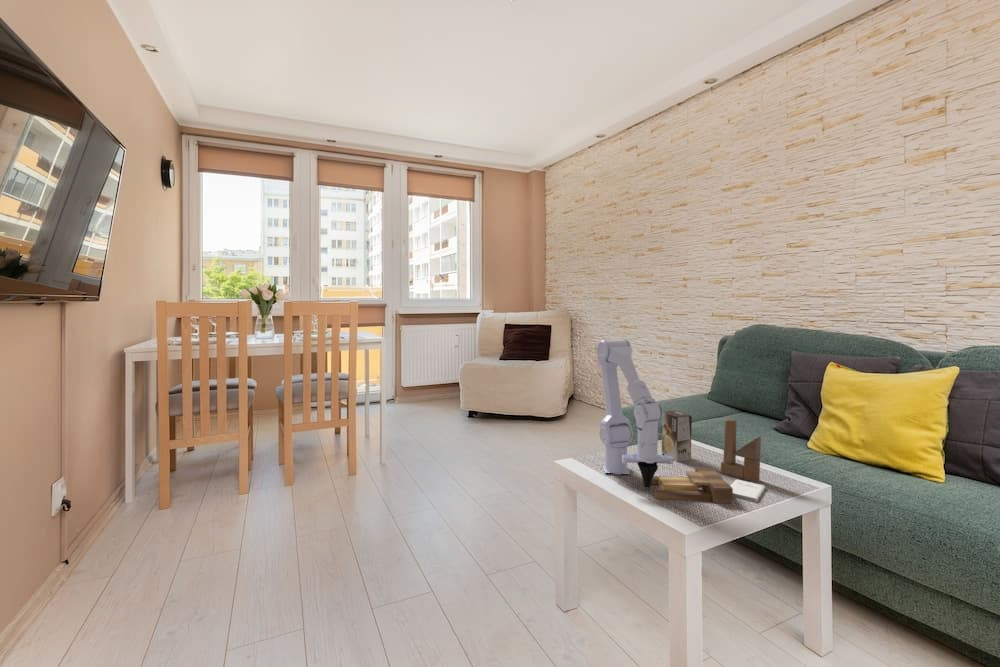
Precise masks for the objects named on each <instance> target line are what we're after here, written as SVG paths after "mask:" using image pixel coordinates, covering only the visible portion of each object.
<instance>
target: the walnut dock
mask: <svg viewBox="0 0 1000 667" xmlns="http://www.w3.org/2000/svg"><path fill="white" fill-rule="evenodd" d="M685 475H686V476H687V477H686V476H678V477H679V478H690V480H691V481H692V482H693V483H694V484H695V485H699V487H700V488H701V490H702V491H670V490H661V489H654V490H653V497H654V498H655V499H657V500H677V501H678V500H679V501H680V500H681V501H708V502H712V503H714V504H733V496H732V493H733V488H732V487H731V484H728V482H727V481H726V480H725V479H724V478H723V477H722V476H721V475H720V474H719V473H718V472H717V471H716V470H714V468H712V467H695V470H694V471H685ZM658 477H665V476H662V475H661V476H660V475H659V476H658V475H657V476H656V475H654V476H653V478H652V481H651V484H650V485H658Z"/></svg>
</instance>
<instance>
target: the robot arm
mask: <svg viewBox="0 0 1000 667" xmlns="http://www.w3.org/2000/svg"><path fill="white" fill-rule="evenodd" d="M632 354H633V348H632V345H631V342H630V341H629V340H628V338H627V339H626V338H622V339H601V340H599V342H598V344H597V345H596V357H597V363H598V365H599V366H600V373H601V381H602V388H603V389H602V390H603V397H604V398H603V399H604V406H605V413H606V416H605V417H603V419H602V420H601V421H600V422H599V439H600V441H601V442H602V444H603V445H604V463H605V467H604V466H602V468H604V469H603V471H605V472H604V474H605V473H613V474H612V475H621V474H631V473H630V470H629V469H628V463H629V464H631V463H633V464H637V465H638V468H639V470H640V473H641V478H642V482H643V487H644V488H646V489H647V488H649V489H650V487H651V485H652V484H651V481H652V478H653V476H655V474H656V472H657V471H658V469H659V465H658V464H668V465H673V464H674V460H673V458H672V457H671V456H665V455H663V454H662V455H661V454H658V447H659V446H658V442H659V441H658V440H659V437H658V436H659V435H658V434H659V431H658V429H659V421H660V420H661V421H662V415H663V412H664V411H663V408H662V406H661V403H659V402H658V401H657V400H656V399H655V398H653V397H652V395H651V393H650V391H649V388H648V386H647V384H646V382H645V380H642V379H640V378H639V375H638V372H637V369H636V366H635V364H634V362H633V358H632ZM618 367H619V369H620V371H621V372H622V374H623V375H624V378H625V379H626V381H627V383H628V384H627V387H626V389H627V392H628V394H629V396H630V398H631V401H632V403H633V405H634V410H633V416H634V418H635V425H636V427H637V450H636V451H637V453H633V454H628V446H630V443H631V442H632V440H633V438H634V432H633V428H632V426H631V422H630V419H629V418H627V417H626V416H625V415H624V414H623V409H622V401H621V400H622V399H621V393H620V392H621V391H620V386H619V377H618V369H617V368H618ZM614 473H615V474H614Z"/></svg>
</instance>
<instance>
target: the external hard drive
mask: <svg viewBox="0 0 1000 667" xmlns="http://www.w3.org/2000/svg"><path fill="white" fill-rule="evenodd" d="M730 486H731V487H732V488H733V493H732V498H733V497H734V498H737V499H738V498H739V499H741V500H742V499H743V500H746V501H749V500H750V501H749V502H754V503H757V502H758V501H759V499H760V498H761V496H762V495H763V493H764V491H765V490H766V485H764V484H759V483H757V482H751V481H748V480H743V479H742V480H741V479H735V480H734V481H733V483H732V484H730ZM764 489H765V490H764ZM762 492H763V493H762ZM761 494H762V495H761ZM759 497H760V498H759Z"/></svg>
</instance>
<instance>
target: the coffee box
mask: <svg viewBox="0 0 1000 667" xmlns="http://www.w3.org/2000/svg"><path fill="white" fill-rule="evenodd" d="M662 412H663V415H662V418H661V454H662V455H663V454H664V456H665V455H666V456H671V457H672V458H673V461H676V462H683V461H684V462H685V461H691V460H692V426H693V425H692V424H693V423H692V415H691V414H687V413H683V412H681V411H678V410H667V411H662Z"/></svg>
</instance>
